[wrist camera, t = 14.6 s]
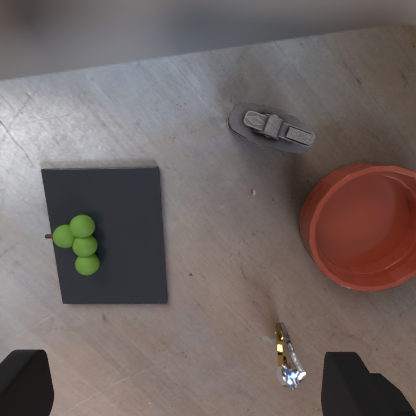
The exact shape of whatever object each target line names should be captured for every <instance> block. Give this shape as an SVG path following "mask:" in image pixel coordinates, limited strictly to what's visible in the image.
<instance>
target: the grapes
mask: <svg viewBox="0 0 416 416" xmlns="http://www.w3.org/2000/svg"><path fill="white" fill-rule="evenodd" d="M94 230H95V223H94V220H93V219H92V218H91V217H89V216H87V215H78V216H76V217H74V218H73V219H72V221H71V222H70V225H61V226H59V227H58V228H56V229H55V231H54V233H53V234H46V235H45V238H53V241H54V242H55V244H56V245H57V246H59V247H62V248H68V247H71V246H72V247H73V251H74V252H75V253H76V254H77V255H78V258H77V259H76V262H75V267H76V270H77V271H78V272H79V273H80V274H82V275H91V274H93V273H95V272H96V271H97V270H98V268H99V265H100V261H99V258H98V256H97V255H96V254H94V252H95V251H96V249H97V240H96V239H95V237H93V236H92V235H91V234H92V233H93V232H94Z"/></svg>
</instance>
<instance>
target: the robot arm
mask: <svg viewBox="0 0 416 416" xmlns="http://www.w3.org/2000/svg"><path fill="white" fill-rule="evenodd" d="M53 401H54V390H53V384H52V379H51V374H50V368H49V363H48V358H47V354H46V352H45V351H44V350H14V351H13V352H11V353H10V354H9V355H8V356H7V357H6V358H5V359H4V360H3V361H2V362H1V364H0V416H49V414H50V412H51V409H52V406H53ZM321 404H322V411H323V416H416V415H415V412H414V410H413V408H412V407H411V405H410V404H409V402H408V401H407V400H406V398H405V397H404V395H403V394H402V393H401V391H400V390H399V389H398V388H397V387H395V386H394V385H393V384H392V383H391V382H390V381H388V380H387V379H386V378H385V377H384V376H382V375H381V374H380V373H369V371H368V369H367V368H366V366H365V365H364V363H363V361H362V360H361V358H360V357H359V355H358V354H357V353H355V352H327V353H326V354H325V358H324V369H323V380H322V391H321Z"/></svg>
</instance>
